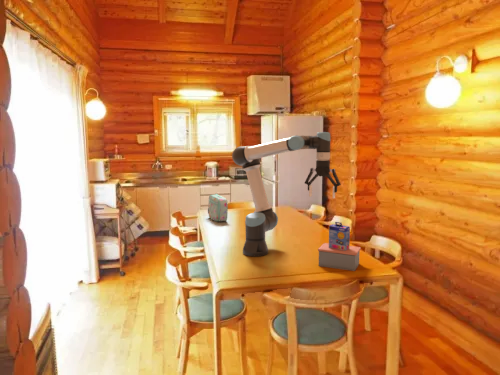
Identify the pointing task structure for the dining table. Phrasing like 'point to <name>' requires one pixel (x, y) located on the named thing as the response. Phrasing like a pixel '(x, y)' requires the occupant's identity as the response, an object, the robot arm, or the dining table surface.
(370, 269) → the dining table surface
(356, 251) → the lid
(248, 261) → the dining table surface
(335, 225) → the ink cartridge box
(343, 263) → the box
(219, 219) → the lunch box
